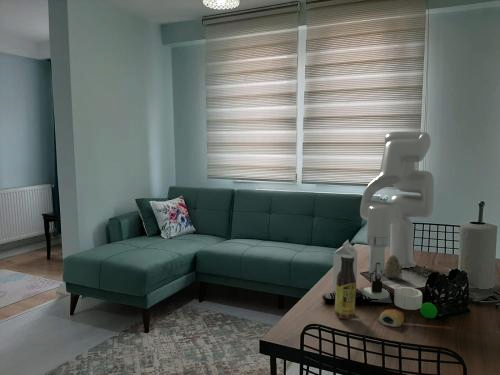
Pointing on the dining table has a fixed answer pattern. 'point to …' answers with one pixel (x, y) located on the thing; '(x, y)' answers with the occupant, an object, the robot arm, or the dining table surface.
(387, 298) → the mat
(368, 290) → the lid
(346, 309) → the sauce bottle
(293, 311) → the dining table surface
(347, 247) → the milk carton
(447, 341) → the dining table surface
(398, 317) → the pastry
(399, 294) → the bowl
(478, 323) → the dining table surface
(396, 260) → the decorative egg
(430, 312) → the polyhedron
